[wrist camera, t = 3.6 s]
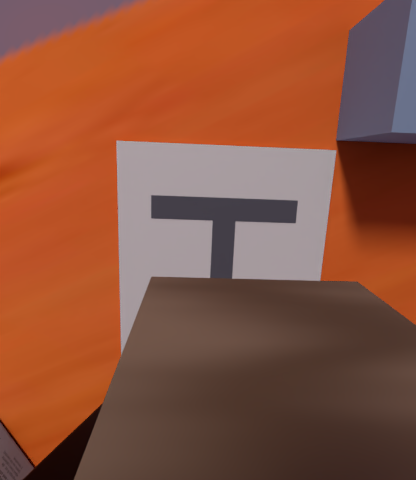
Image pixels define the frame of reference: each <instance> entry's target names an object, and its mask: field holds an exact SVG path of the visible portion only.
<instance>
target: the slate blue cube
mask: <svg viewBox="0 0 416 480" xmlns="http://www.w3.org/2000/svg"><path fill="white" fill-rule="evenodd" d="M336 140H337V141H361V142H385V143H409V144H416V0H385V1H383V2H382V3H381V4H380V5H379V6H378V7H376V8H375V9H374V10H373V11H372V12H370V13H369V14H368V15H367V16H366V17H365V18H363V19H362V20H361V21H360V22H359V23H358V24H356V25H355V26H354V27H353V28H352V29H351V30H349V38H348V47H347V55H346V63H345V71H344V80H343V88H342V96H341V104H340V113H339V121H338V129H337V138H336Z"/></svg>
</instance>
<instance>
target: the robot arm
mask: <svg viewBox="0 0 416 480" xmlns="http://www.w3.org/2000/svg"><path fill="white" fill-rule="evenodd" d="M102 405H103V404H101V405H100V406H99V407H98V408H97V409H96V410H95V411H94V412H93V413H92V414H91V415H90V416H89V417H88V418H87V419H86V420H85V421H84V422H82V423H81V424H80V425H79V426H78V427H77V428H76V429H75V430H74V431H73V432H72V433H71V434H70V435H69V436H68V437H67V438H66V439H65V440H63V441H62V442H61V443H60V444H59V445H58V446H57V447H56V448H55V449H54V450H53V451H52V452H51V453H50V454H49V455H48V456H47V457H46V458H45V459H43V460H42V461H41V462H40V463H39V464H38V465H37V466H36V467H35V468H34V469H33V470H32V471H31V472H30V473H29V474H28V475H27V476H26V477H24V478H23V479H22V480H74V478H75V475H76V473H77V470H78V468H79V465H80V462H81V460H82V457H83V454H84V452H85V449H86V447H87V444H88V441H89V439H90V436H91V433H92V431H93V428H94V426H95V423H96V420H97V418H98V415H99V412H100V410H101V407H102Z"/></svg>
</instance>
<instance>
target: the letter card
mask: <svg viewBox="0 0 416 480" xmlns="http://www.w3.org/2000/svg"><path fill="white" fill-rule="evenodd" d="M335 157H336V150H317V149H294V148H271V147H248V146H225V145H202V144H179V143H156V142H134V141H117V186H118V231H119V276H120V321H121V355H122V352H123V350H124V347H125V344H126V342H127V339H128V336H129V334H130V331H131V329H132V326H133V323H134V321H135V318H136V315H137V313H138V310H139V308H140V305H141V302H142V300H143V297H144V294H145V292H146V289H147V287H148V284H149V281H150V279H151V277H190V278H229V279H269V280H308V281H320V277H321V269H322V261H323V253H324V245H325V237H326V229H327V221H328V213H329V205H330V197H331V189H332V181H333V173H334V165H335Z"/></svg>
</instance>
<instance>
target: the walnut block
mask: <svg viewBox="0 0 416 480" xmlns="http://www.w3.org/2000/svg"><path fill="white" fill-rule="evenodd" d="M74 480H416V325H415V324H413V323H412V322H411V321H409V320H408V319H407V318H405V317H404V316H403V315H401V314H400V313H398V312H397V311H396V310H394V309H393V308H392V307H390V306H389V305H388V304H386V303H385V302H384V301H382V300H381V299H380V298H378V297H377V296H376V295H374V294H373V293H372V292H370V291H369V290H368V289H366V288H365V287H364V286H362V285H361V284H360V283H358V282H348V281H308V280H269V279H229V278H190V277H151V279H150V281H149V284H148V287H147V289H146V292H145V294H144V297H143V300H142V302H141V305H140V308H139V310H138V313H137V315H136V318H135V321H134V323H133V326H132V329H131V331H130V334H129V336H128V339H127V342H126V344H125V347H124V350H123V352H122V355H121V357H120V360H119V363H118V365H117V368H116V371H115V373H114V376H113V378H112V381H111V384H110V386H109V389H108V391H107V394H106V397H105V399H104V402H103V405H102V407H101V410H100V412H99V415H98V418H97V420H96V423H95V426H94V428H93V431H92V433H91V436H90V439H89V441H88V444H87V447H86V449H85V452H84V454H83V457H82V460H81V462H80V465H79V468H78V470H77V473H76V475H75V478H74Z"/></svg>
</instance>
